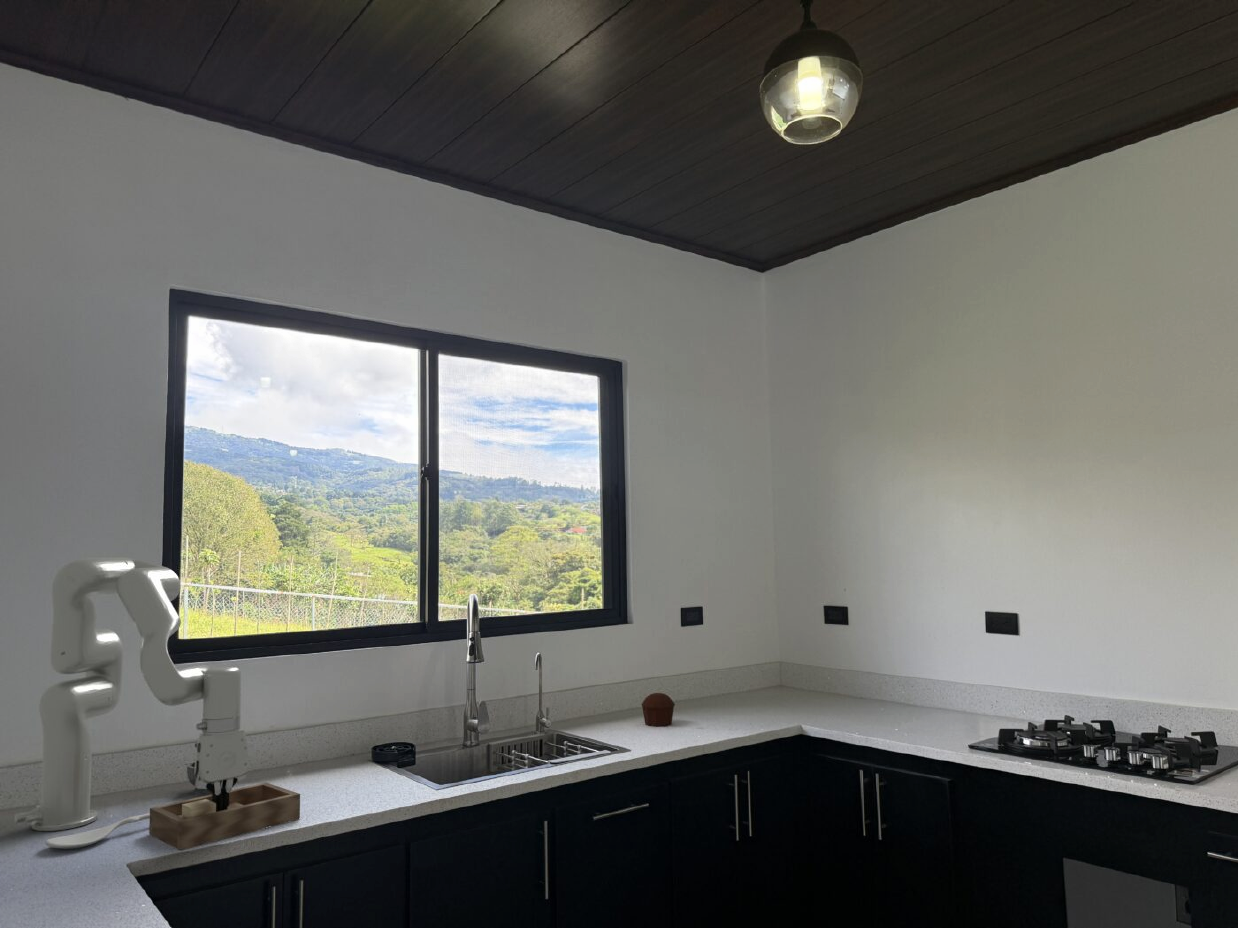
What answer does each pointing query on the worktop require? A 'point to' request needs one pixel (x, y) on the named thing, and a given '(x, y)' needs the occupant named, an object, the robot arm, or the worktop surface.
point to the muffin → (658, 710)
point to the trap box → (225, 816)
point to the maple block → (198, 808)
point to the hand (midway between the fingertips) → (220, 811)
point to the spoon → (90, 835)
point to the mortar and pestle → (192, 778)
